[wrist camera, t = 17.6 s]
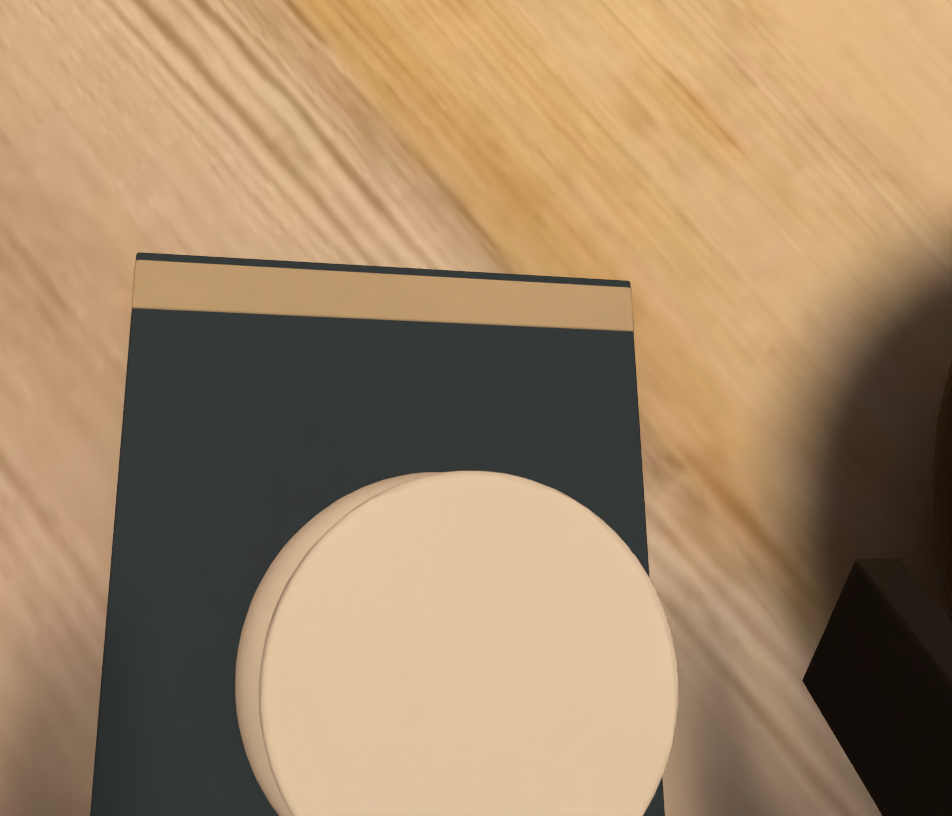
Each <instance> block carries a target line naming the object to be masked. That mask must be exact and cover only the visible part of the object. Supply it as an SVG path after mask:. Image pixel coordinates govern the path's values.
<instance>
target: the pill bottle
mask: <svg viewBox="0 0 952 816" xmlns="http://www.w3.org/2000/svg"><path fill="white" fill-rule="evenodd" d="M678 693H679V686H678V671H677V658H676V653H675V648H674V643H673V638H672V634H671V630H670V627H669V624H668V621H667V618H666V615H665V612H664V609H663V606H662V603H661V600H660V598H659V596H658V594H657V592H656V589H655V587H654V585H653V583H652V581H651V579H650V578H649V576H648V575H647V573H646V572H645V570H644V569H643V567H642V565H641V564H640V562H639V560H638V559H637V557H636V556H635V555H634V554H633V553H632V552H631V550H630V548H629V547H628V546H627V545H626V544H625V542H624V541H623V540H622V539H621V538H620V537H619V536H618V535H617V533H616V532H615V531H613V530H612V529H611V528H610V527H609V526H608V525H607V524H606V523H605V522H604V521H603V520H602V519H601V518H599V517H598V516H597V515H595V514H594V513H593V512H592V511H590V510H589V509H588V508H586V507H584V506H583V505H581V504H580V503H578V502H577V501H575V500H574V499H572V498H571V497H569V496H567V495H565V494H563V493H561V492H560V491H558V490H556V489H553V488H551V487H548V486H545V485H543V484H540V483H538V482H535V481H532V480H529V479H526V478H522V477H518V476H514V475H510V474H505V473H498V472H488V471H451V472H423V473H413V474H407V475H402V476H397V477H393V478H389V479H385V480H381V481H379V482H376V483H373V484H370V485H367V486H365V487H362V488H360V489H358V490H356V491H354V492H352V493H350V494H348V495H346V496H344V497H342V498H340V499H339V500H337V501H335V502H334V503H332V504H331V505H330V506H328V507H327V508H325V509H324V510H323V511H321V512H320V513H318V514H317V515H316V516H315V517H314V518H312V519H311V520H310V521H309V522H308V523H306V524H305V525H304V526H303V527H302V528H301V529H300V530H299V531H298V532H297V533H296V534H295V535H294V536H293V537H292V538H291V539H290V540H289V541H288V542H287V544H286V545H285V546H284V547H283V548H282V550H281V551H280V552H279V554H278V555H277V556H276V558H275V559H274V561H273V562H272V563H271V565H270V567H269V568H268V570H267V572H266V573H265V575H264V577H263V579H262V580H261V582H260V584H259V586H258V588H257V590H256V592H255V594H254V596H253V599H252V601H251V604H250V607H249V610H248V613H247V616H246V619H245V622H244V625H243V628H242V633H241V637H240V642H239V647H238V653H237V661H236V676H235V699H236V710H237V718H238V723H239V729H240V733H241V737H242V741H243V745H244V748H245V752H246V755H247V758H248V760H249V763H250V765H251V768H252V770H253V773H254V775H255V777H256V780H257V782H258V783H259V785H260V787H261V789H262V791H263V792H264V794H265V796H266V797H267V799H268V801H269V802H270V804H271V805H272V807H273V808H274V809H275V811H276V812H277V814H278V815H279V816H643V814H644V813H645V811H646V809H647V807H648V806H649V804H650V802H651V800H652V798H653V797H654V794H655V792H656V790H657V787H658V785H659V782H660V780H661V778H662V775H663V773H664V770H665V768H666V766H667V762H668V759H669V755H670V752H671V748H672V744H673V739H674V733H675V730H676V719H677V713H678Z"/></svg>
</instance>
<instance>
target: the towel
mask: <svg viewBox="0 0 952 816" xmlns="http://www.w3.org/2000/svg"><path fill="white" fill-rule="evenodd" d="M633 331H634V322H633V307H632V292H631V287H630V281H621V280H604V279H587V278H570V277H552V276H535V275H518V274H501V273H483V272H466V271H449V270H432V269H414V268H397V267H380V266H363V265H345V264H328V263H311V262H294V261H276V260H259V259H242V258H225V257H207V256H190V255H173V254H156V253H137V255H136V262H135V272H134V284H133V296H132V314H131V326H130V338H129V350H128V362H127V375H126V387H125V399H124V411H123V423H122V435H121V447H120V460H119V472H118V484H117V496H116V508H115V520H114V533H113V545H112V557H111V569H110V581H109V593H108V606H107V618H106V630H105V642H104V654H103V666H102V678H101V691H100V703H99V715H98V727H97V739H96V751H95V764H94V776H93V788H92V800H91V812H90V816H279V815H278V814H277V812H276V811H275V809H274V808H273V807H272V805H271V804H270V802H269V801H268V799H267V797H266V796H265V794H264V792H263V791H262V789H261V787H260V785H259V783H258V782H257V780H256V777H255V775H254V773H253V770H252V768H251V765H250V763H249V760H248V758H247V755H246V752H245V748H244V745H243V741H242V737H241V733H240V729H239V723H238V718H237V710H236V699H235V676H236V661H237V653H238V647H239V642H240V637H241V633H242V628H243V625H244V622H245V619H246V616H247V613H248V610H249V607H250V604H251V601H252V599H253V596H254V594H255V592H256V590H257V588H258V586H259V584H260V582H261V580H262V579H263V577H264V575H265V573H266V572H267V570H268V568H269V567H270V565H271V563H272V562H273V561H274V559H275V558H276V556H277V555H278V554H279V552H280V551H281V550H282V548H283V547H284V546H285V545H286V544H287V542H288V541H289V540H290V539H291V538H292V537H293V536H294V535H295V534H296V533H297V532H298V531H299V530H300V529H301V528H302V527H303V526H304V525H305V524H306V523H308V522H309V521H310V520H311V519H312V518H314V517H315V516H316V515H317V514H318V513H320V512H321V511H323V510H324V509H325V508H327V507H328V506H330V505H331V504H332V503H334V502H335V501H337V500H339V499H340V498H342V497H344V496H346V495H348V494H350V493H352V492H354V491H356V490H358V489H360V488H362V487H365V486H367V485H370V484H373V483H376V482H379V481H381V480H385V479H389V478H393V477H397V476H402V475H407V474H413V473H423V472H451V471H488V472H498V473H505V474H510V475H514V476H518V477H522V478H526V479H529V480H532V481H535V482H538V483H540V484H543V485H545V486H548V487H551V488H553V489H556V490H558V491H560V492H561V493H563V494H565V495H567V496H569V497H571V498H572V499H574V500H575V501H577V502H578V503H580V504H581V505H583V506H584V507H586V508H588V509H589V510H590V511H592V512H593V513H594V514H595V515H597V516H598V517H599V518H601V519H602V520H603V521H604V522H605V523H606V524H607V525H608V526H609V527H610V528H611V529H612V530H613V531H615V532H616V533H617V535H618V536H619V537H620V538H621V539H622V540H623V541H624V542H625V544H626V545H627V546H628V547H629V548H630V550H631V552H632V553H633V554H634V555H635V556H636V557H637V559H638V560H639V562H640V564H641V565H642V567H643V569H644V570H645V572H646V573H647V575H648V576H649V565H648V549H647V534H646V518H645V503H644V487H643V472H642V457H641V441H640V426H639V410H638V395H637V379H636V364H635V348H634V333H633ZM643 816H665V812H664V796H663V781H662V778H661V780H660V782H659V785H658V787H657V790H656V792H655V794H654V797H653V798H652V800H651V802H650V804H649V806H648V807H647V809H646V811H645V813H644V814H643Z"/></svg>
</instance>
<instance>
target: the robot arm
mask: <svg viewBox="0 0 952 816" xmlns="http://www.w3.org/2000/svg"><path fill="white" fill-rule="evenodd" d="M802 681H803V683H804V684H805V686H806V688H807V689H808V691H809V693H810V694H811V696H812V698H813V699H814V701H815V703H816V704H817V706H818V708H819V709H820V711H821V713H822V715H823V716H824V718H825V720H826V721H827V723H828V725H829V726H830V728H831V730H832V731H833V733H834V735H835V736H836V738H837V740H838V741H839V743H840V745H841V747H842V748H843V750H844V752H845V753H846V755H847V757H848V758H849V760H850V762H851V763H852V765H853V767H854V768H855V770H856V772H857V773H858V775H859V777H860V779H861V780H862V782H863V784H864V785H865V787H866V789H867V790H868V792H869V794H870V795H871V797H872V799H873V800H874V802H875V804H876V805H877V807H878V809H879V811H880V812H881V814H882V816H952V621H951V620H950V619H949V617H948V616H947V615H946V614H945V613H944V612H943V610H942V609H941V608H940V607H939V606H938V604H937V603H936V602H935V601H934V600H933V598H932V597H931V596H930V595H929V594H928V593H927V591H926V590H925V589H924V588H923V587H922V585H921V584H920V583H919V582H918V581H917V579H916V578H915V577H914V576H913V575H912V574H911V572H910V571H909V570H908V569H907V568H906V566H905V565H904V564H903V563H902V562H901V561H900V559H856V560H855V563H854V565H853V567H852V570H851V572H850V574H849V576H848V579H847V581H846V583H845V585H844V588H843V590H842V592H841V594H840V597H839V599H838V601H837V603H836V606H835V608H834V610H833V613H832V615H831V617H830V619H829V622H828V624H827V626H826V628H825V631H824V633H823V635H822V637H821V640H820V642H819V644H818V647H817V649H816V651H815V653H814V656H813V658H812V660H811V662H810V665H809V667H808V669H807V671H806V674H805V676H804V678H803V680H802Z"/></svg>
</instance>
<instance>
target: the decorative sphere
mask: <svg viewBox="0 0 952 816" xmlns="http://www.w3.org/2000/svg"><path fill="white" fill-rule="evenodd" d="M932 487H933V499H934V511H935V523H936V534H937V546H938V554H939V558H940V563H941V567H942V571H943V575H944V579H945V583H946V588H947V592H948V596H949V600H950V604H951V608H952V362H951V366H950V370H949V374H948V378H947V382H946V386H945V390H944V394H943V398H942V402H941V406H940V410H939V414H938V418H937V427H936V440H935V454H934V467H933V480H932Z"/></svg>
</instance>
